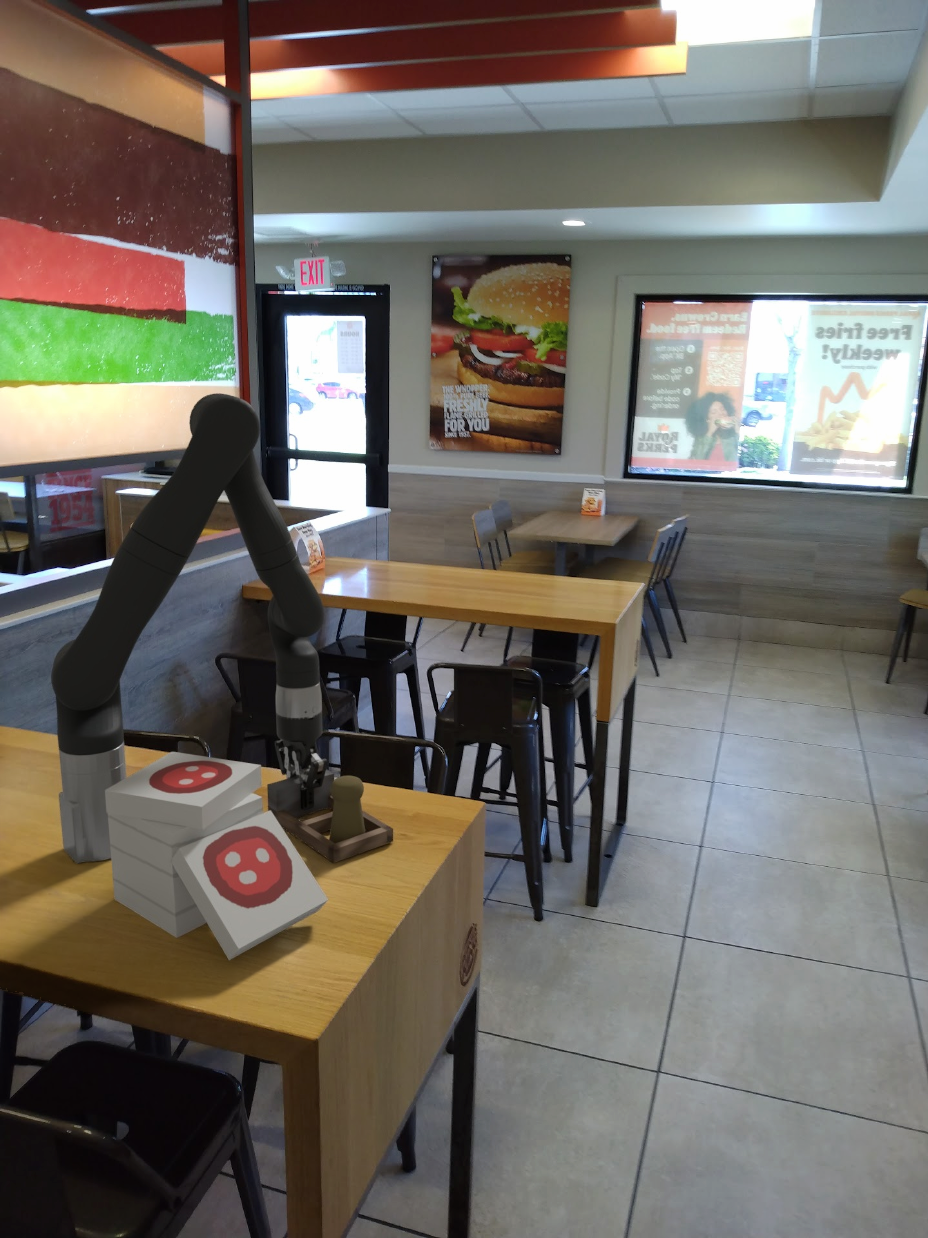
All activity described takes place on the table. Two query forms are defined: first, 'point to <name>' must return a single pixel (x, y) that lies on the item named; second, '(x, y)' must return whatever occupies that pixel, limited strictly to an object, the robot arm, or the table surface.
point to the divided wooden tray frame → (321, 820)
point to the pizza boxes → (206, 852)
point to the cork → (346, 808)
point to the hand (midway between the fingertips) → (302, 804)
